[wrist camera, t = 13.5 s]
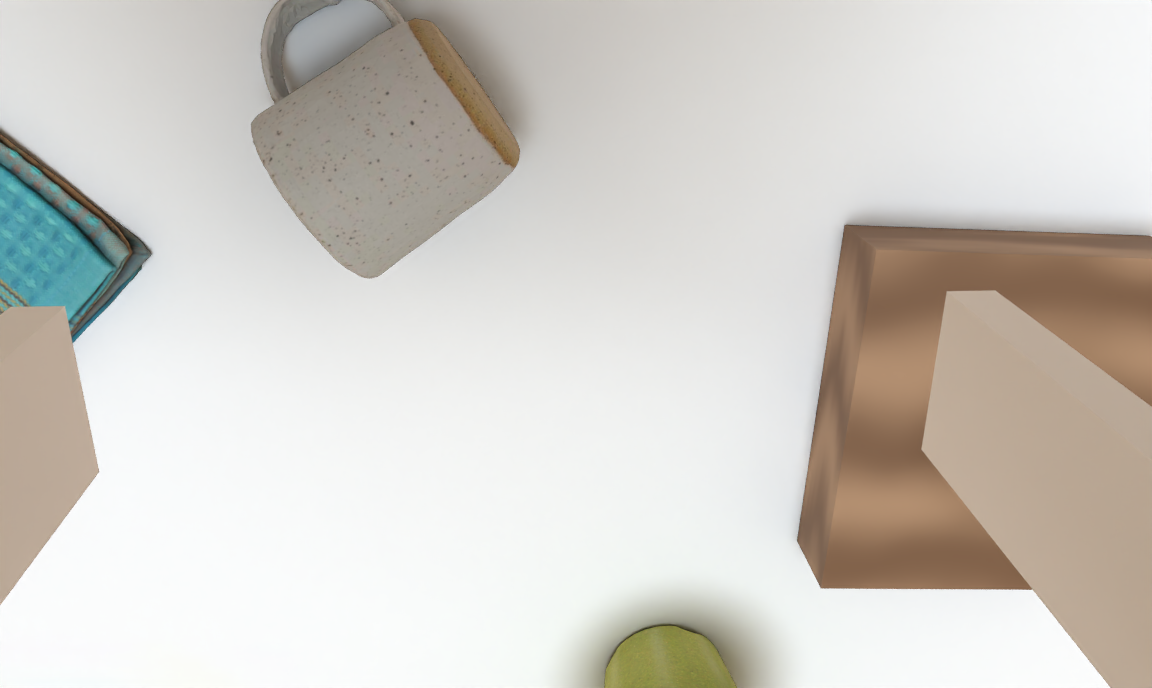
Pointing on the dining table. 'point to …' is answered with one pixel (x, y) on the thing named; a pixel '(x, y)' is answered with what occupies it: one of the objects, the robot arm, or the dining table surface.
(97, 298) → the dish towel
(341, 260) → the ceramic mug
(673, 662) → the plant pot
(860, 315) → the walnut riser block
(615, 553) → the dining table surface
